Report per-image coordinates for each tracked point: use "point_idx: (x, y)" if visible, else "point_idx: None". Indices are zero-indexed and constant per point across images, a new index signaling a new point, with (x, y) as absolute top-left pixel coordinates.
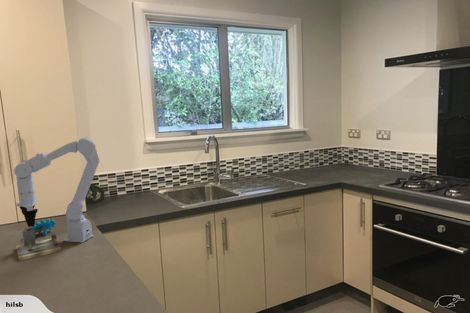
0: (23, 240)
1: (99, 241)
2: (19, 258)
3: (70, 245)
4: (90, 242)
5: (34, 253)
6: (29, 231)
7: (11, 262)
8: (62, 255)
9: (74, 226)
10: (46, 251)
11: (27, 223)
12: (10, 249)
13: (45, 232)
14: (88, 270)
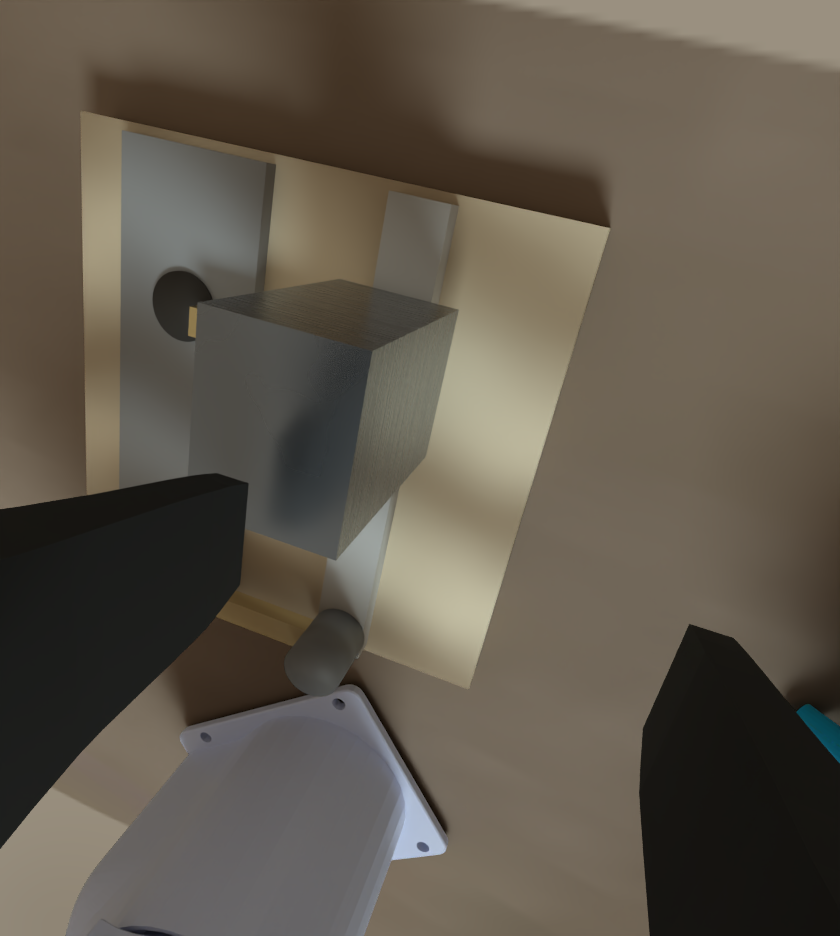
0: (297, 287)
1: (125, 796)
2: (88, 122)
3: (197, 648)
4: (150, 758)
5: (107, 306)
6: (204, 427)
7: (123, 25)
8: (3, 482)
9: (144, 874)
10: (85, 417)
11: (132, 490)
12: (681, 146)
13: (829, 751)
14: None
